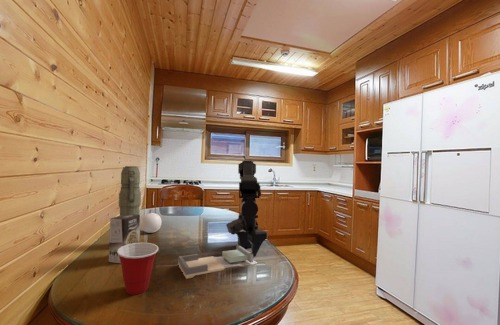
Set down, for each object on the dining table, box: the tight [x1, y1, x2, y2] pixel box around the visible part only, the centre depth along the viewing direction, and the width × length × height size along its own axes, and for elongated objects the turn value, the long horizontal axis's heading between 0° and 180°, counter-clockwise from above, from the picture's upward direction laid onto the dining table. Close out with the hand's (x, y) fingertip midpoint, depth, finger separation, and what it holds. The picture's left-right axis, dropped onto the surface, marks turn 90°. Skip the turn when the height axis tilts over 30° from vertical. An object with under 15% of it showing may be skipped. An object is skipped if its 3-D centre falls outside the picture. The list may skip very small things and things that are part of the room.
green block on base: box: [221, 244, 254, 264], centre depth 92 cm, size 8×12×4 cm, turn 28°
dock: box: [177, 253, 258, 280], centre depth 89 cm, size 26×12×3 cm, turn 118°
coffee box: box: [108, 214, 141, 264], centre depth 94 cm, size 9×6×16 cm
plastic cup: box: [117, 242, 159, 296], centre depth 70 cm, size 11×11×12 cm
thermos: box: [118, 165, 142, 243], centre depth 110 cm, size 9×12×35 cm
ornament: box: [140, 209, 163, 234], centre depth 131 cm, size 10×10×12 cm
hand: (247, 252), depth 95 cm, fingers open, 9 cm apart
